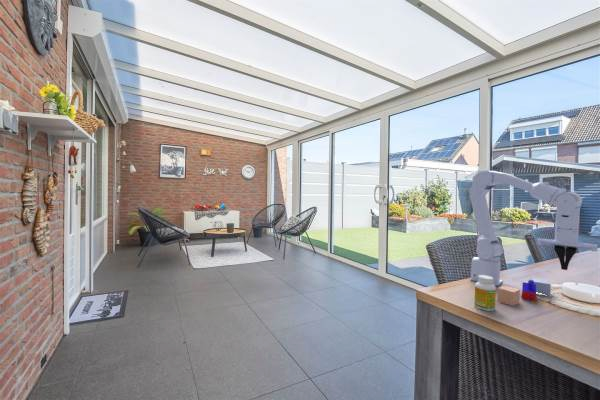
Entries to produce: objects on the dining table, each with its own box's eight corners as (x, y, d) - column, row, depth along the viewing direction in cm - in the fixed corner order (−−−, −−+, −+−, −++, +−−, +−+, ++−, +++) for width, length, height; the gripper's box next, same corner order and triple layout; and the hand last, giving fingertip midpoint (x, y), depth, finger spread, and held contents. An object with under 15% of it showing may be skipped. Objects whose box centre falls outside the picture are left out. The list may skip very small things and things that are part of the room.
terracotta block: (497, 301, 94) (497, 287, 94) (503, 298, 96) (503, 285, 96) (513, 306, 90) (513, 292, 90) (519, 303, 93) (519, 289, 92)
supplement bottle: (488, 312, 85) (489, 280, 85) (470, 306, 90) (471, 275, 89) (498, 309, 87) (500, 278, 87) (480, 302, 92) (482, 273, 92)
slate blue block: (533, 294, 101) (533, 281, 100) (531, 290, 104) (531, 278, 104) (549, 297, 98) (550, 284, 98) (547, 292, 102) (547, 280, 102)
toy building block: (521, 302, 97) (522, 284, 94) (522, 293, 100) (522, 275, 97) (535, 304, 95) (536, 286, 92) (535, 295, 98) (536, 278, 95)
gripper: (536, 227, 97) (534, 266, 98) (598, 232, 86) (595, 276, 87) (539, 225, 102) (537, 263, 102) (598, 230, 91) (595, 272, 92)
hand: (564, 269), depth 95 cm, fingers closed
